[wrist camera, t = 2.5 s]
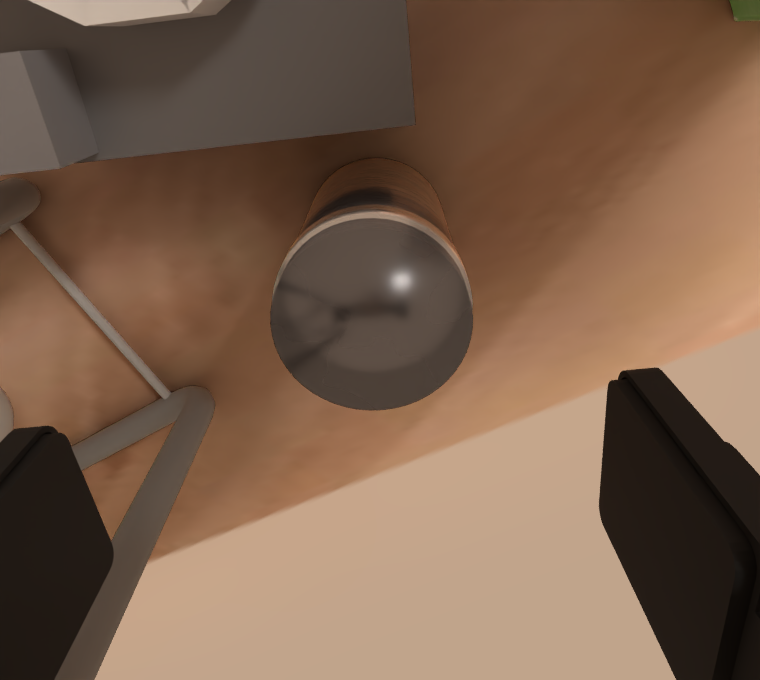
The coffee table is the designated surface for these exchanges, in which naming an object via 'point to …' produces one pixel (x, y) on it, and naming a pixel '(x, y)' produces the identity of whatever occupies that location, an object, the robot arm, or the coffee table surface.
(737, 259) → the coffee table surface
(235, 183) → the coffee table surface
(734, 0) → the ink box
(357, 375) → the lens
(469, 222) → the coffee table surface
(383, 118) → the camera body
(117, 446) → the newton's cradle
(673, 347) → the coffee table surface
